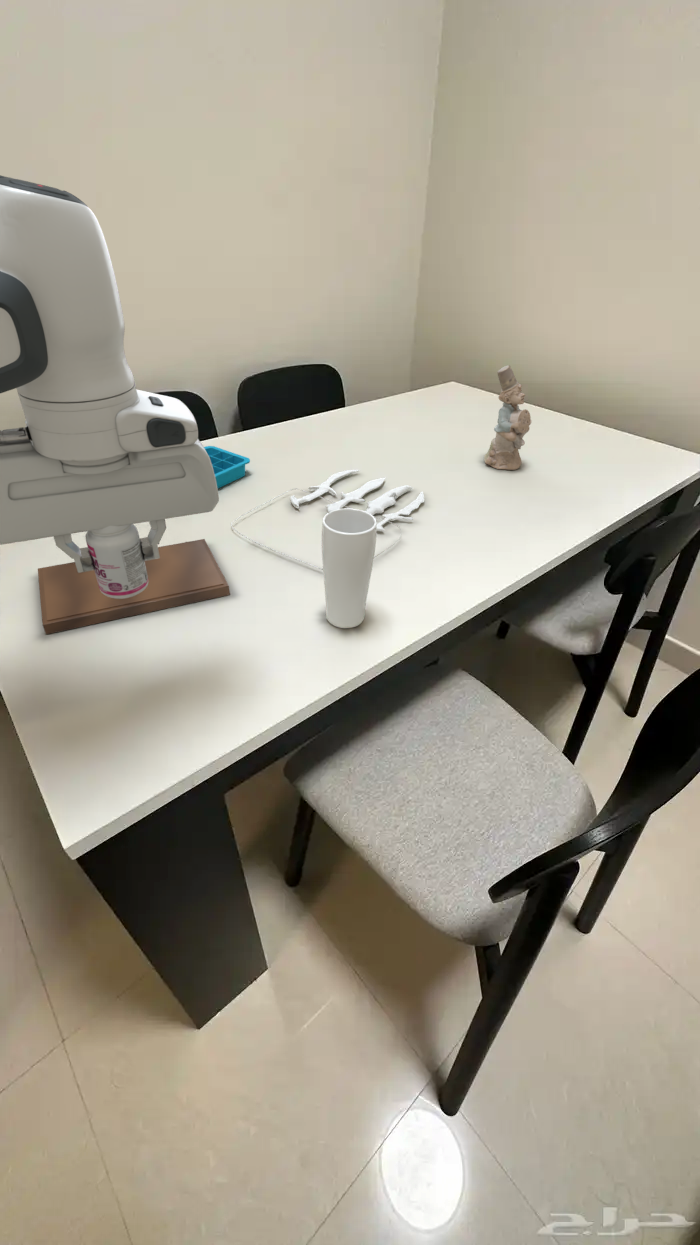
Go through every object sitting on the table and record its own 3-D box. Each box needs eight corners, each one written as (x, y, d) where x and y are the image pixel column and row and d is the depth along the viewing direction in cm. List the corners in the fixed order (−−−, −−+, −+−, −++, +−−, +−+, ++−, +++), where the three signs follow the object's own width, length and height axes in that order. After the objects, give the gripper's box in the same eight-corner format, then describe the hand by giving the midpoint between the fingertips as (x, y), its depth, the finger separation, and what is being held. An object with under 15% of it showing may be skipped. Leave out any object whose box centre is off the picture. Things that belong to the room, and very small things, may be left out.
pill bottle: (89, 592, 58) (66, 517, 53) (121, 569, 61) (103, 496, 56) (128, 605, 57) (109, 528, 51) (158, 580, 60) (144, 506, 55)
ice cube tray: (253, 474, 115) (253, 459, 113) (176, 510, 102) (173, 495, 100) (211, 458, 120) (209, 444, 118) (132, 492, 106) (128, 476, 105)
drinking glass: (369, 634, 77) (378, 535, 68) (318, 632, 77) (320, 532, 68) (369, 604, 82) (376, 508, 73) (321, 602, 82) (323, 506, 73)
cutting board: (46, 634, 74) (42, 624, 73) (40, 577, 84) (37, 567, 83) (229, 594, 83) (229, 585, 82) (205, 547, 92) (204, 538, 91)
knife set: (452, 502, 109) (453, 496, 108) (344, 584, 86) (345, 578, 85) (341, 465, 120) (341, 460, 119) (219, 529, 97) (218, 523, 96)
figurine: (473, 462, 124) (491, 364, 112) (493, 452, 130) (512, 357, 117) (509, 475, 120) (533, 374, 108) (529, 464, 125) (553, 366, 113)
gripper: (-62, 450, 42) (0, 602, 51) (215, 422, 50) (228, 559, 58) (-55, 421, 47) (1, 566, 55) (198, 399, 54) (213, 530, 63)
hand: (119, 562), depth 57 cm, fingers closed on pill bottle, 5 cm apart
